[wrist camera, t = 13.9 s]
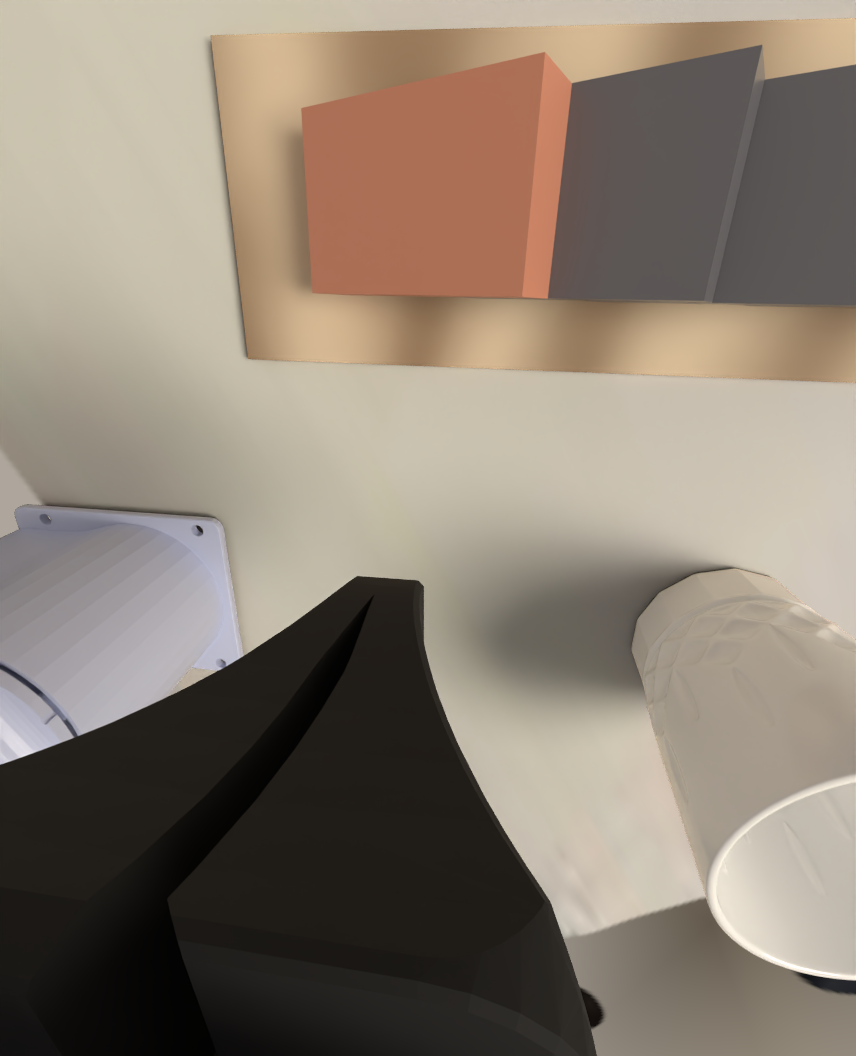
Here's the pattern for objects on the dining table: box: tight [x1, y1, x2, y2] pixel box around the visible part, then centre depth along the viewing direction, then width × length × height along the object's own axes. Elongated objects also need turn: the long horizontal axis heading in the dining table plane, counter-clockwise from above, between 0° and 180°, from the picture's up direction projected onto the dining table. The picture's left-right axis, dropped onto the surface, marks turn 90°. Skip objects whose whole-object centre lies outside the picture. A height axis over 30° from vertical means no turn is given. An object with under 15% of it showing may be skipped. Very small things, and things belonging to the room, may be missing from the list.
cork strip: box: [211, 18, 856, 383], centre depth 15 cm, size 26×9×1 cm, turn 89°
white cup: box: [631, 568, 856, 980], centre depth 16 cm, size 8×8×10 cm
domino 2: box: [585, 64, 856, 307], centre depth 13 cm, size 2×5×7 cm
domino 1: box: [462, 45, 765, 303], centre depth 13 cm, size 2×5×7 cm
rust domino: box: [301, 52, 572, 299], centre depth 14 cm, size 2×5×7 cm
